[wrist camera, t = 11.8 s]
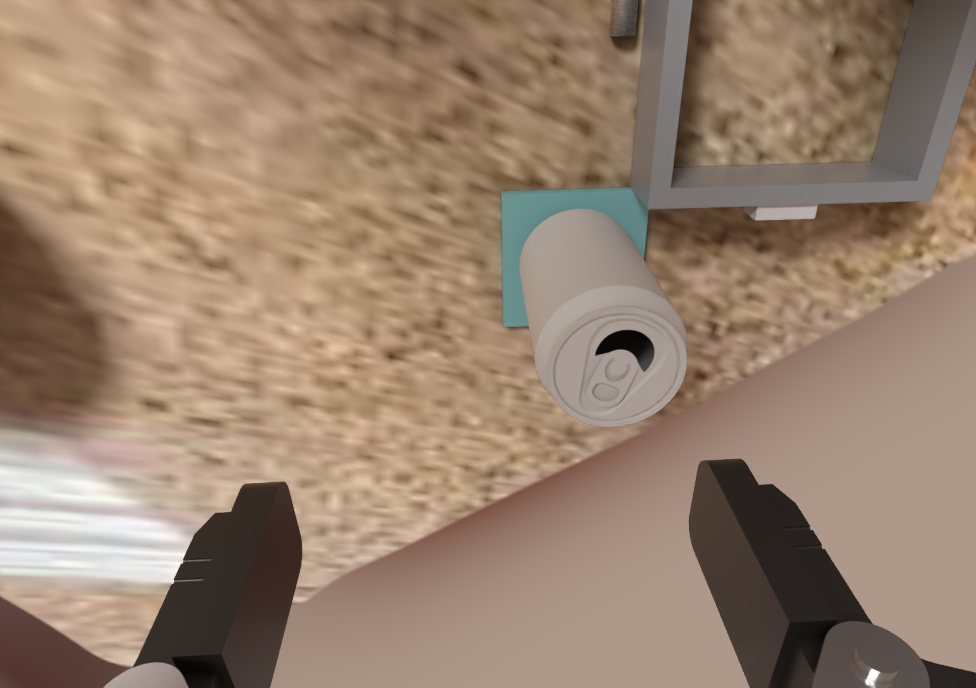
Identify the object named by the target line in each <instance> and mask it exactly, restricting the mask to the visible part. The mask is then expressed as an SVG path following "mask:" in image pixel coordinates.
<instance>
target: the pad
mask: <svg viewBox="0 0 976 688" xmlns="http://www.w3.org/2000/svg"><path fill="white" fill-rule="evenodd" d="M501 207H502V283H503V327H518V326H529V324H528V318H527V313H526V307H525V301H524V295H523V290H522V284H521V278H520V271H519V263H520V256H521V252H522V249H523V246H524V244H525V242H526V240H527V238H528V237H529V235H530V234H531V233H532V232H533V230H534V229H535V228H536V227H537V226H538V225H539V224H541V223H542V222H543V221H545V220H546V219H548V218H549V217H551V216H553V215H555V214H557V213H560V212H563V211H567V210H572V209H591V210H595V211H599V212H602V213H604V214H606V215H608V216H610V217H612V218H613V219H615V220H616V221H617V222H618V223H620V224H621V226H622V227H623V228H624V229H625V231H626V232H627V234H628V235H629V237H630V238H631V240H632V241H633V243H634V245H635V246H636V248H637V249H638V251H639V253H640V254H641V256H642V257H643V259H644V252H645V243H646V233H647V223H648V213H649V209H647V208H646V206H645V205H644V204H643V203H642V202H641V200H640V199H639V198H638V197H637V195H636V194H635V193H634V192H633V191H632V189H631V188H630V187H622V188H589V189H557V190H524V191H501Z"/></svg>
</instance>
